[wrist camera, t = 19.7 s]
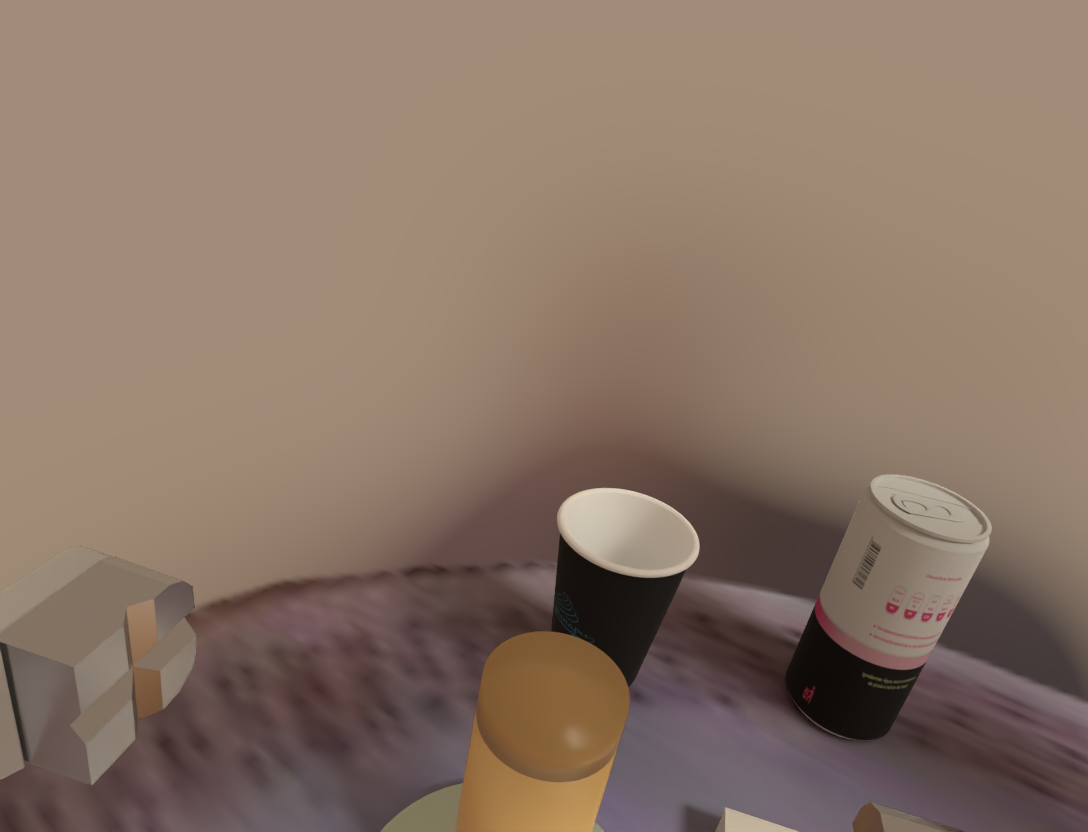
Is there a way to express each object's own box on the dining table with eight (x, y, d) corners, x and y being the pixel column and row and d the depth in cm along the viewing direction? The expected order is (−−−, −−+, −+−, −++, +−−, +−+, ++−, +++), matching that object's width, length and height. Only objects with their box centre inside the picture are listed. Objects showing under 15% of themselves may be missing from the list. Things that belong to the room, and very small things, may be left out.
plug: (543, 1011, 28) (618, 770, 22) (419, 963, 28) (460, 718, 22) (570, 884, 32) (638, 655, 26) (463, 845, 33) (506, 615, 27)
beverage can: (772, 655, 49) (851, 464, 42) (868, 672, 49) (960, 483, 43) (797, 736, 43) (893, 528, 36) (905, 754, 43) (1020, 551, 37)
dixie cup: (503, 688, 43) (534, 534, 38) (555, 610, 49) (587, 472, 44) (631, 749, 40) (681, 594, 35) (667, 658, 47) (713, 518, 42)
